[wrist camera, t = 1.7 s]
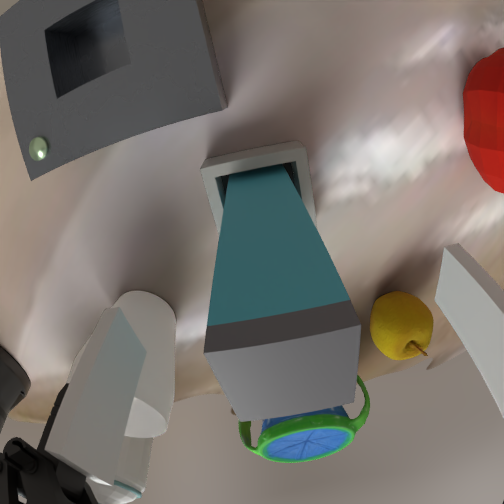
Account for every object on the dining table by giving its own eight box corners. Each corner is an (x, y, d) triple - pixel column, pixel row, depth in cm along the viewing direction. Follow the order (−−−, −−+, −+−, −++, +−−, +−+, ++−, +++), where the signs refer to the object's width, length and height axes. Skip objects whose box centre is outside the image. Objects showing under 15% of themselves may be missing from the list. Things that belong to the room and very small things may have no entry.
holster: (227, 240, 25) (225, 259, 22) (205, 159, 21) (200, 168, 19) (310, 223, 24) (318, 240, 22) (297, 140, 21) (305, 147, 18)
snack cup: (350, 331, 31) (377, 407, 22) (360, 378, 36) (379, 441, 27) (221, 369, 33) (218, 445, 24) (253, 408, 38) (255, 470, 29)
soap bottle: (68, 372, 35) (14, 552, 8) (131, 368, 33) (87, 595, 6) (112, 415, 41) (83, 571, 14) (173, 414, 39) (157, 596, 12)
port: (68, 160, 20) (28, 182, 15) (37, 23, 13) (-4, 17, 8) (227, 107, 19) (222, 110, 14) (190, -47, 12) (175, -81, 7)
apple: (413, 309, 30) (443, 360, 23) (363, 329, 31) (385, 385, 24) (411, 266, 27) (450, 318, 20) (355, 288, 28) (383, 348, 21)
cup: (146, 264, 26) (101, 368, 15) (205, 327, 30) (193, 431, 19) (90, 301, 28) (45, 390, 17) (145, 353, 32) (122, 442, 21)
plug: (241, 220, 24) (240, 421, 9) (229, 173, 22) (203, 353, 7) (290, 210, 24) (353, 402, 9) (281, 162, 22) (361, 324, 7)
